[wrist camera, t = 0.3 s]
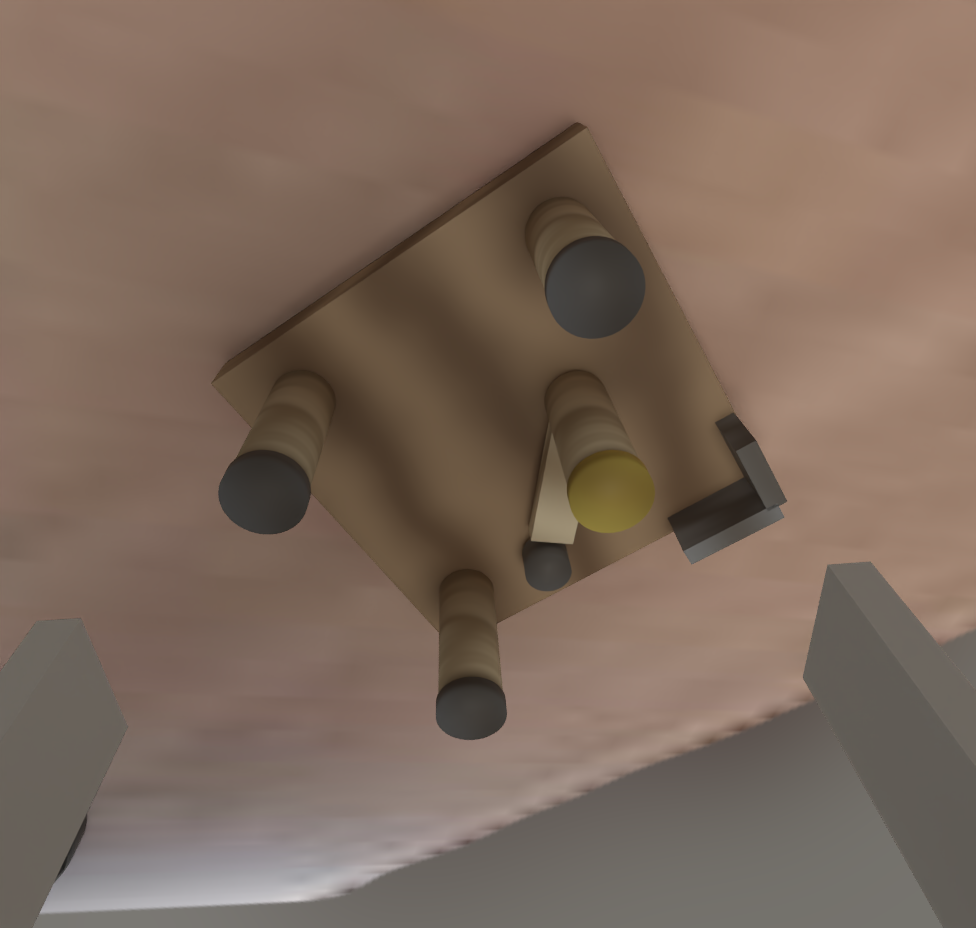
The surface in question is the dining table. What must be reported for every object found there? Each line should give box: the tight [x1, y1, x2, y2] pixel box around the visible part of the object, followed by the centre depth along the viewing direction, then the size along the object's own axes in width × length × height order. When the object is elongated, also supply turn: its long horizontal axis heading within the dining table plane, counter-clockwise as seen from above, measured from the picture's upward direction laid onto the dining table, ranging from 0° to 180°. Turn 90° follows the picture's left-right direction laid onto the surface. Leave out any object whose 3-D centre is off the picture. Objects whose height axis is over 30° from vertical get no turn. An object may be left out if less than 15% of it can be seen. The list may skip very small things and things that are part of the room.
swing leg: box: [522, 371, 655, 591], centre depth 33 cm, size 12×3×9 cm, turn 172°
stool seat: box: [211, 122, 787, 740], centre depth 33 cm, size 20×20×11 cm
